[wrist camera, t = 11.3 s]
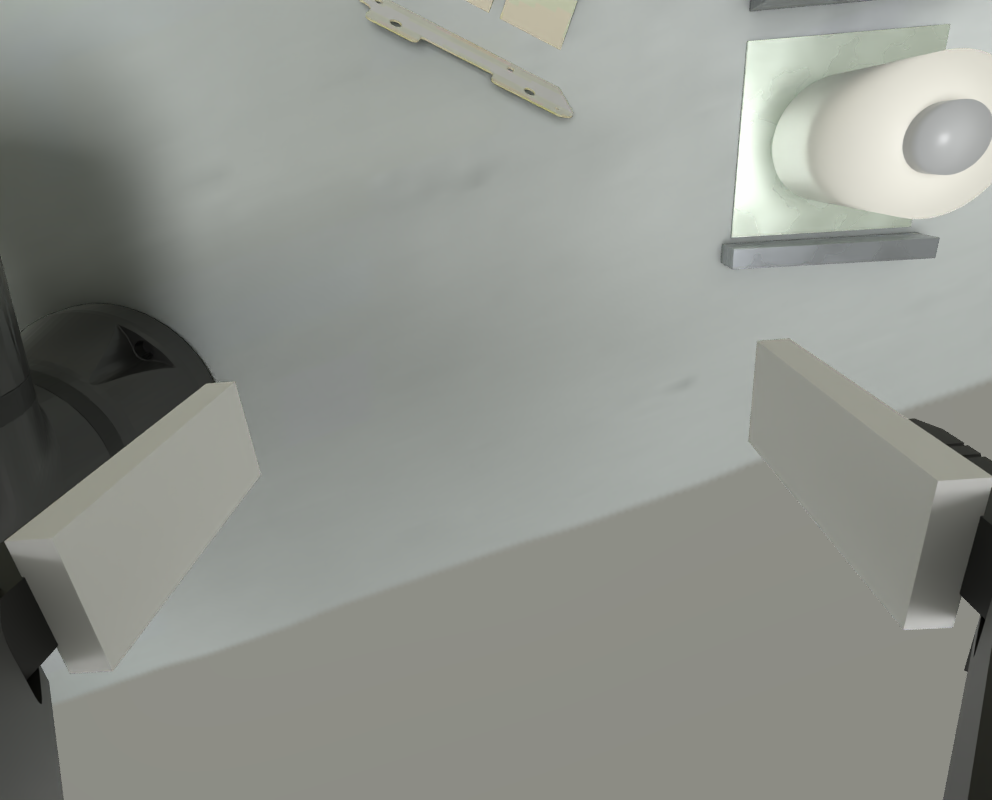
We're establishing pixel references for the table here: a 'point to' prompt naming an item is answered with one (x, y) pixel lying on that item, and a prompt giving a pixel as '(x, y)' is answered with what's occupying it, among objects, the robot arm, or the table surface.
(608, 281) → the table surface
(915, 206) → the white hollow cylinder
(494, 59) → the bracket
